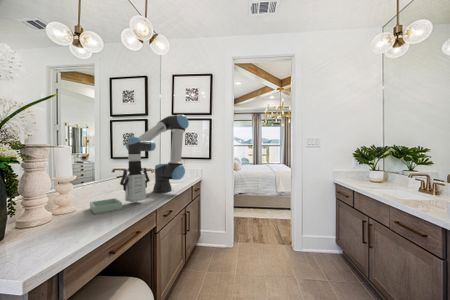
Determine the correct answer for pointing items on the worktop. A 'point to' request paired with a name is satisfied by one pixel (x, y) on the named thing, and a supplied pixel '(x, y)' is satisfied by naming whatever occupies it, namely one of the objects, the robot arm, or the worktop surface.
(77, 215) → the worktop surface
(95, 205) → the tray
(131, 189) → the supplement box
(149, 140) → the robot arm
